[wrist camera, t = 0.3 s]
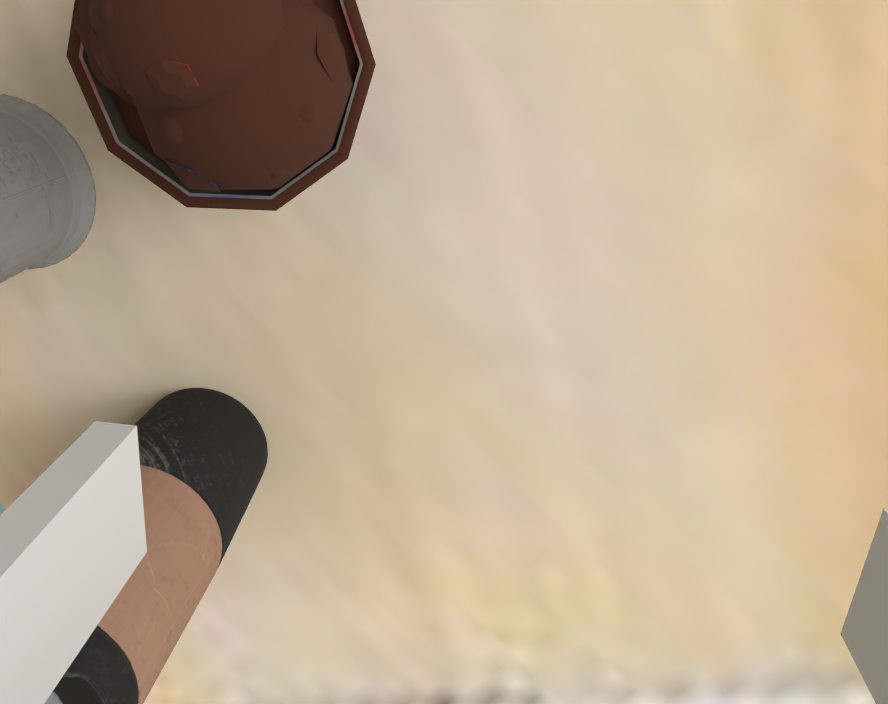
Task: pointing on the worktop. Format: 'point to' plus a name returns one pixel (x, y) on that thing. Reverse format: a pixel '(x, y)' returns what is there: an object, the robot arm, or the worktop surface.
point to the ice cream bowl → (224, 92)
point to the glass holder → (40, 189)
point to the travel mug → (171, 540)
